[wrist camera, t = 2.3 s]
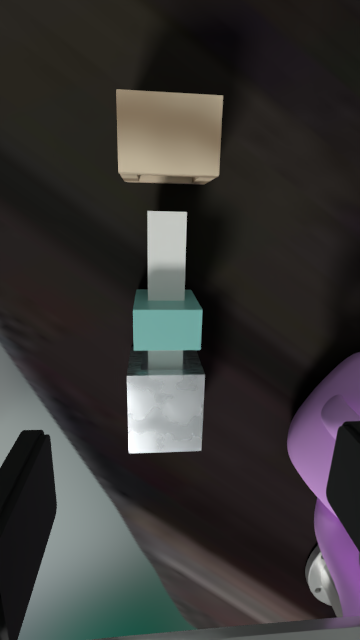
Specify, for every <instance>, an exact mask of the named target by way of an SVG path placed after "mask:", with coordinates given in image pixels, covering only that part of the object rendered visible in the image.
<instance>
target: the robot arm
mask: <svg viewBox="0 0 360 640" xmlns="http://www.w3.org/2000/svg"><path fill="white" fill-rule="evenodd" d="M326 497H327V500H328V503H329V504H330V506H331V508H332V509H333V511H334V512H335V514H336V516H337V517H338V519H339V520H340V522H341V524H342V525H343V527H344V528H345V530H346V532H347V533H348V535H349V536H350V538H351V540H352V541H353V543H354V544H355V546H356V547H357V549H358V551H359V565H360V421H346V422H344V423H343V424H342V426H340V427H339V428H338V431H337V436H336V441H335V446H334V452H333V457H332V462H331V467H330V472H329V477H328V482H327V487H326ZM56 503H57V502H56V492H55V483H54V472H53V462H52V452H51V442H50V436H49V435H44V432H43V430H24V431H22V432H21V433H20V435H19V437H18V438H17V440H16V442H15V444H14V445H13V447H12V449H11V450H10V452H9V454H8V456H7V457H6V459H5V461H4V463H3V464H2V466H1V468H0V640H17V639H18V636H19V633H20V629H21V626H22V623H23V620H24V617H25V613H26V610H27V607H28V603H29V600H30V597H31V594H32V591H33V587H34V584H35V580H36V577H37V574H38V571H39V568H40V564H41V561H42V558H43V555H44V552H45V548H46V545H47V542H48V539H49V535H50V532H51V529H52V525H53V522H54V519H55V515H56V508H57V507H56V506H57V504H56ZM305 576H306V580H307V583H308V585H309V587H310V590H311V592H312V593H313V594H314V596H315V597H316V598H317V599H319V600H320V601H322V602H324V603H326V604H328V605H331V606H332V607H333V609H334V611H335V614H336V616H337V618H327V619H315V620H303V621H291V622H279V623H268V624H256V625H245V626H233V627H221V628H210V629H199V630H188V631H177V632H167V633H156V634H145V635H134V636H125V637H112V638H102V639H94V640H360V616H352V617H343V613H342V607H341V603H340V598H339V595H338V592H337V589H336V586H335V584H334V581H333V579H332V576H331V574H330V572H329V569H328V567H327V565H326V563H325V560H324V558H323V555H322V553H321V550H320V548H319V545H317V547H316V548H315V549H314V550H313V552H312V553H311V555H310V557H309V559H308V561H307V564H306V570H305Z"/></svg>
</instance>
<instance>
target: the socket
mask: <svg viewBox="0 0 360 640" xmlns="http://www.w3.org/2000/svg"><path fill="white" fill-rule="evenodd" d="M116 98H117V135H118V172H119V174H120V175H121V176H122V178H123V179H124V181H125V182H142V183H171V184H201V185H204V184H206V183H207V182H209V181H211V180H213V179H214V178H216V177H218V176H219V164H220V145H221V127H222V108H223V95H206V94H188V93H171V92H154V91H137V90H120V89H116Z"/></svg>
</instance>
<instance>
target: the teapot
mask: <svg viewBox="0 0 360 640" xmlns="http://www.w3.org/2000/svg"><path fill="white" fill-rule="evenodd" d="M346 421H360V352H358V353H355V354H353V355H351V356H349V357H348V358H346V359H345V360H344V361H342V362H341V363H340V364H339V365H337V366H336V367H335V368H334V369H333V370H332V371H331V372H330V373H329V374H328V375H327V376H326V377H325V378H324V379H323V380H322V381H321V382H320V383H319V384H318V385H317V387H316V388H315V389H314V390H313V391H312V392H311V394H310V395H309V396H308V397H307V399H306V400H305V401H304V402H303V404H302V405H301V406H300V408H299V409H298V411H297V412H296V414H295V415H294V417H293V419H292V421H291V424H290V427H289V431H288V439H287V448H288V453H289V456H290V459H291V461H292V463H293V465H294V466H295V468H296V470H297V471H298V473H299V474H300V476H301V477H302V479H303V480H304V481H305V483H306V484H307V485H308V486H309V488H310V489H311V490H312V491H313V492H314V494H315V495H316V496H317V502H316V507H315V515H314V526H315V534H316V538H317V541H318V545H319V548H320V550H321V553H322V555H323V558H324V560H325V563H326V565H327V567H328V569H329V572H330V574H331V576H332V579H333V581H334V584H335V586H336V589H337V592H338V595H339V598H340V603H341V607H342V613H343V617H352V616H360V565H359V551H358V549H357V547H356V546H355V544H354V543H353V541H352V540H351V538H350V536H349V535H348V533H347V532H346V530H345V528H344V527H343V525H342V524H341V522H340V520H339V519H338V517H337V516H336V514H335V512H334V511H333V509H332V508H331V506H330V504H329V503H328V500H327V497H326V487H327V482H328V477H329V472H330V467H331V462H332V457H333V452H334V446H335V441H336V436H337V431H338V428H339V427H340V426H342V424H343V423H344V422H346Z"/></svg>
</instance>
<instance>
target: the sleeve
mask: <svg viewBox="0 0 360 640" xmlns="http://www.w3.org/2000/svg"><path fill="white" fill-rule="evenodd" d="M204 385H205V373H204V370H203V367H202V365H201V362H200V359H199V356H198V353H197V350H183V368H182V369H174V370H148V351H134V347H131V351H130V358H129V365H128V372H127V402H128V444H129V453H154V452H181V451H201V444H202V424H203V404H204Z"/></svg>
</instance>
